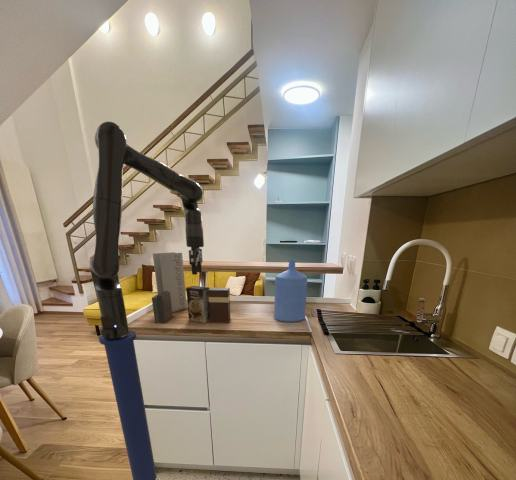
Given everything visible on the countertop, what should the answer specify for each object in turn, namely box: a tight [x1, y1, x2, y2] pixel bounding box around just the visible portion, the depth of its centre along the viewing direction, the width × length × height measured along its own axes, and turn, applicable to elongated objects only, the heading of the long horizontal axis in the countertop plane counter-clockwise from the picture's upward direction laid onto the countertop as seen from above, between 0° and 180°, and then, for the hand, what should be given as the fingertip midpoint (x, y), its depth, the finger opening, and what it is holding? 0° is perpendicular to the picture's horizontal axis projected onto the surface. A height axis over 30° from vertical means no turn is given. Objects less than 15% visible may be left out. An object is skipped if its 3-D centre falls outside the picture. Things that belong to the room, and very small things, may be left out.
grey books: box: [151, 291, 173, 324], centre depth 135 cm, size 11×5×13 cm, turn 178°
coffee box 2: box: [208, 287, 231, 324], centre depth 133 cm, size 6×9×16 cm
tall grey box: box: [152, 252, 188, 313], centre depth 148 cm, size 14×6×30 cm, turn 147°
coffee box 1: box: [185, 285, 210, 324], centre depth 134 cm, size 9×6×16 cm
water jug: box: [273, 260, 308, 323], centre depth 136 cm, size 16×16×28 cm
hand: (197, 273), depth 128 cm, fingers open, 8 cm apart
